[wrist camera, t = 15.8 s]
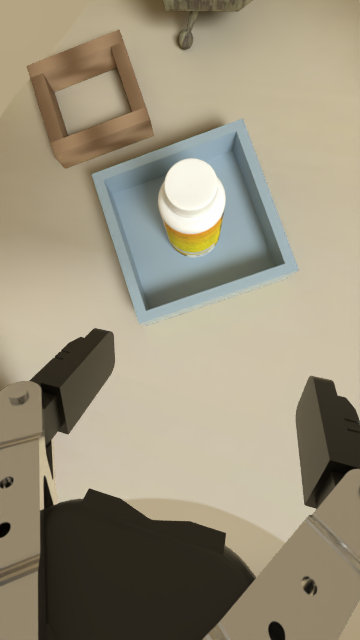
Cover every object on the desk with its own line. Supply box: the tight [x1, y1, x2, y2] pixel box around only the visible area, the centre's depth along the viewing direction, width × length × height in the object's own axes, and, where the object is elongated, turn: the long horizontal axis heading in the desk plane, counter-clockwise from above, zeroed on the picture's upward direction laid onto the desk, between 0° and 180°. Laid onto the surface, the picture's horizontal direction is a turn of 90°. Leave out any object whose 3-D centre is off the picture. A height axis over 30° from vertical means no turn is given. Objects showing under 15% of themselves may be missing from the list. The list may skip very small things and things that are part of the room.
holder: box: [27, 30, 154, 168], centre depth 33 cm, size 11×11×2 cm
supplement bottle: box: [158, 158, 226, 258], centre depth 26 cm, size 6×6×10 cm
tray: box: [91, 119, 299, 326], centre depth 30 cm, size 16×16×4 cm
